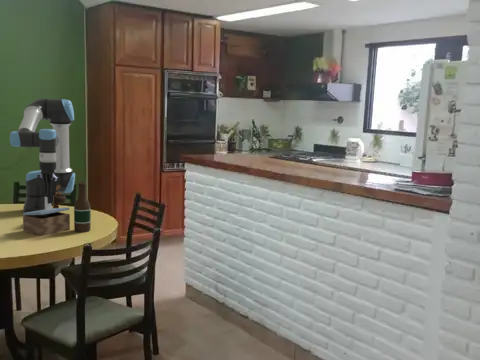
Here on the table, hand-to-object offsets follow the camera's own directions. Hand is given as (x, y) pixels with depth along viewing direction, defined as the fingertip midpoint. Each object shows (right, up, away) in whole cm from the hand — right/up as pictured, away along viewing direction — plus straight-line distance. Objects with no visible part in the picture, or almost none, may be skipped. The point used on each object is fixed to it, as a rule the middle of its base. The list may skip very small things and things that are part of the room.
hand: (48, 209), depth 243 cm
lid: (-1, -1, +1) cm, 2 cm away
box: (-2, -10, +2) cm, 11 cm away
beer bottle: (+15, -11, +5) cm, 19 cm away
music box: (-5, -8, +22) cm, 24 cm away
